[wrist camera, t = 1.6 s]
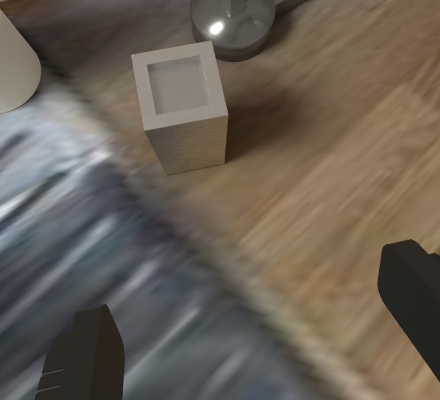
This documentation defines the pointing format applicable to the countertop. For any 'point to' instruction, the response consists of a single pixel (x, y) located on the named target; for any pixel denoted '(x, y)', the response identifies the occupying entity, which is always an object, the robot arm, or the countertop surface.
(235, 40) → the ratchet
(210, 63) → the socket
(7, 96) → the cylindrical container
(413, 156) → the countertop surface
